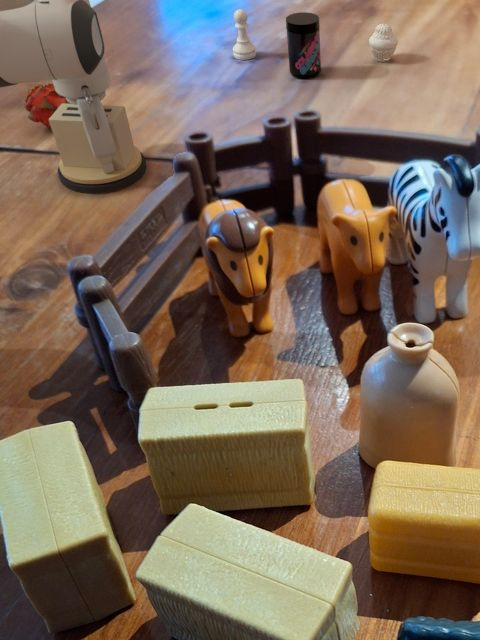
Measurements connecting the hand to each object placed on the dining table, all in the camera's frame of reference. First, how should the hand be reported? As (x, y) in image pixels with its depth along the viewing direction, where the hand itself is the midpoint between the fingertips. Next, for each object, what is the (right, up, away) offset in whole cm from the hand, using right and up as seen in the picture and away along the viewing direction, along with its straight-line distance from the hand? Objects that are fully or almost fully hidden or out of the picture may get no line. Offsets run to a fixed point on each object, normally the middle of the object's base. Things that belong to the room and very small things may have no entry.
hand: (104, 159), depth 126 cm
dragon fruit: (-12, +11, +13) cm, 21 cm away
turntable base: (-1, -1, +2) cm, 2 cm away
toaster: (-1, -1, +1) cm, 1 cm away
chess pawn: (+20, +37, +34) cm, 54 cm away
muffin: (+50, +35, +32) cm, 69 cm away
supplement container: (+33, +30, +27) cm, 52 cm away
